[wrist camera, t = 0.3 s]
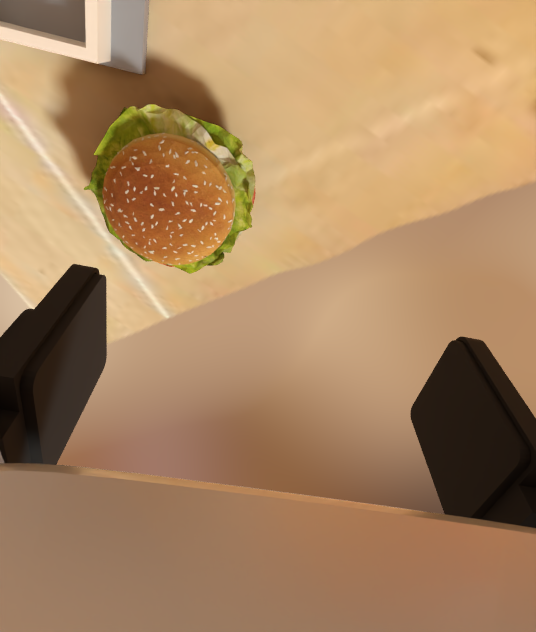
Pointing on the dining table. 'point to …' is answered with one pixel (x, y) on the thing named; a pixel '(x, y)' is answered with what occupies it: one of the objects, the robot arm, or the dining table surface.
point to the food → (173, 187)
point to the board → (81, 29)
